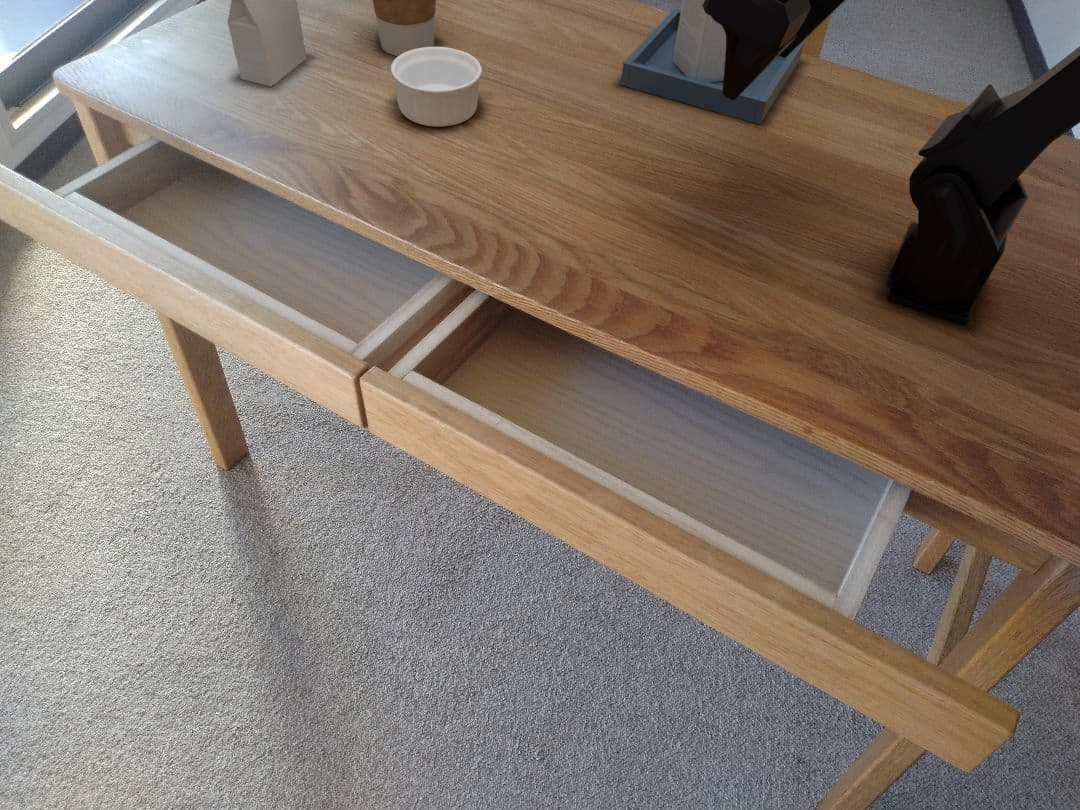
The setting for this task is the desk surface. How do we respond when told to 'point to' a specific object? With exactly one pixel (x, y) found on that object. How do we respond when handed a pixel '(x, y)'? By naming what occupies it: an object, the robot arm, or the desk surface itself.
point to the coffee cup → (405, 24)
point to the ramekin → (436, 85)
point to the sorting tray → (663, 78)
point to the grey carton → (266, 39)
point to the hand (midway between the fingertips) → (755, 75)
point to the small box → (699, 44)
